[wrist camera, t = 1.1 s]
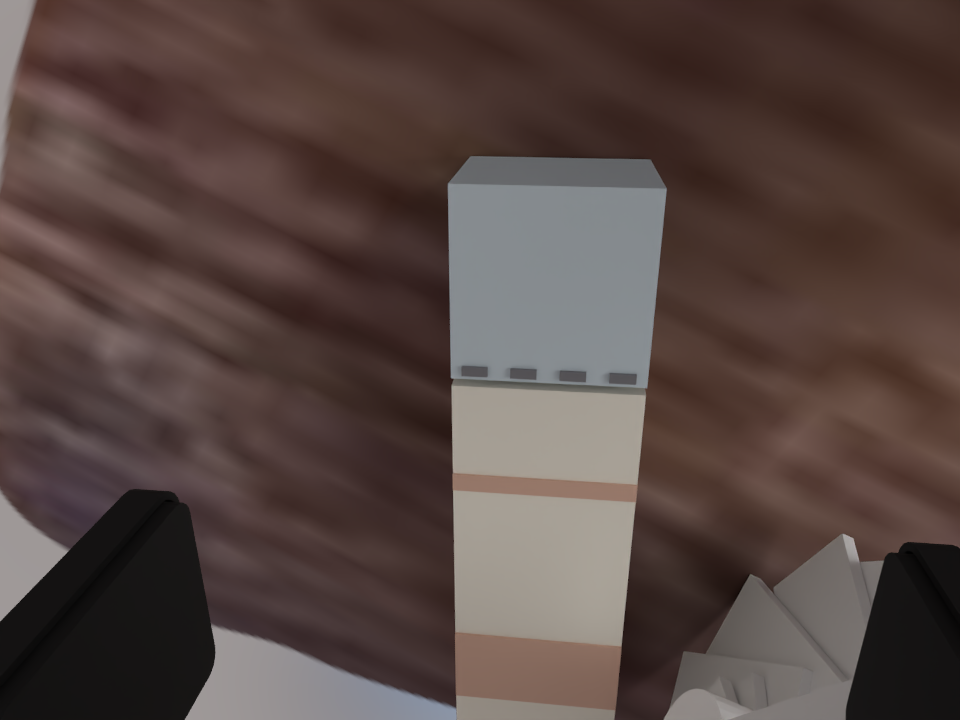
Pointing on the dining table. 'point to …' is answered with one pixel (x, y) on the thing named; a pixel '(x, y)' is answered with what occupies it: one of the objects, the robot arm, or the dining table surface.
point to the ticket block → (542, 545)
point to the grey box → (554, 269)
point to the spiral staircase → (784, 645)
